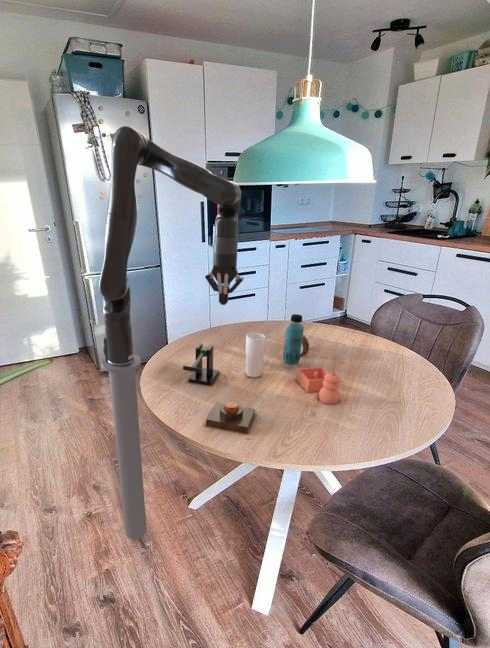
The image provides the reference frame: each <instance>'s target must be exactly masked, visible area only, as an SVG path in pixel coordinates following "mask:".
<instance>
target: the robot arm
mask: <svg viewBox="0 0 490 648" xmlns="http://www.w3.org/2000/svg"><path fill="white" fill-rule="evenodd" d="M138 166H142V167H145V168H148V169H151V170H154V171H157V172H159V173H161V174H162V175H165V176H166V177H168V178H169V179H171V180H172V181H174V182H176V184H179V185H181V186H183V187H185V188H186V189H188V190H191V191H192V192H194V193H197V194H199V195H201V196H203V197H205V198H206V199H208V200H209V201H211V202H213V203H214V204H216V205H217V215H216V218H215V221H214V238H213V247H212V250H213V252H212V255H213V256H212V268H211V270H210V271H211V272H209V273H207V274H206V275H205V277H204V278H205V279H206V281H207V283H208V284H209V285H210V287H211V288H212V290H213V292H217V293H218V303H219V304H220V306H226V304H228V303H229V295H230V294H232V293H233V292H235V290H237V288H238V287H239V286H240V285H241V283H242V282H244V280H245V277H243V276H240V274H238V273H239V271H238V269H237V267H238V266H237V264H238V247H239V245H238V228H239V215H240V214H239V213H240V208H241V201H242V191H241V188H240V186H239V184H238V183H236V182H235V181H233V180H227V179H225V178H222V177H220V176H218V175H216V174H214V173H212V172H211V171H210V170H208V169H207V168H205V167H203V166H201V165H199V164H197V163H194V162H193V161H190V160H188V159H186V158H184V157H181V156H179V155H176V154H174V153H172V152H169V151H167V150H166V149H164V148H162V147H161V146H159V145H158V144H156V143H155V142H153V140H151V139H150V138H149V137H147V136H145V134H144V133H142V132H141V131H140V130H137V129H136V128H134V127H132V126H128V125H123V126H120V127H119V128H117V129H116V131H114V133H113V136H112V140H111V166H110V167H111V168H110V169H111V171H110V172H111V173H110V185H109V192H108V193H109V194H108V203H107V210H106V218H105V232H104V258H103V264H102V268H101V273H100V277H99V281H98V290H99V292H100V294H101V296H102V298H103V305H102V306H103V309H102V313H103V315H102V316H103V323H104V324H103V325H104V333H105V337H103V338H102V339H103V348H102V350H103V355H104V358H105V359H106V362H107V363H109V364H110V365H113V366H125V365H129V364H131V363H133V362H134V354H135V353H134V340H133V326H132V314H131V313H132V312H131V311H132V308H131V307H132V302H131V299H132V298H131V285H130V279H129V276H128V264H129V257H130V254H131V251H132V248H133V244H134V240H135V235H136V231H137V224H138V214H139V207H138V201H137V193H136V176H137V170H138ZM233 281H234V282H235V283H234V284H233V285H232V286H231V283H232V282H233ZM230 286H231V287H230Z"/></svg>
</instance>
